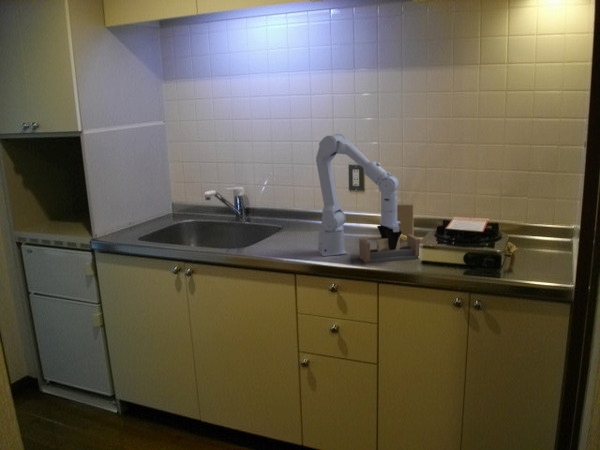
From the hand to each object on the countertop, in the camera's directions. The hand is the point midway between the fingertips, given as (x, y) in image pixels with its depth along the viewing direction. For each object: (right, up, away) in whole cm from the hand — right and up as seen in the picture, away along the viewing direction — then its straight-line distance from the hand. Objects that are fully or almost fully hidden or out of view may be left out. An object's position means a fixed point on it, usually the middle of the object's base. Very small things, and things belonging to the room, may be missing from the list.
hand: (389, 247), depth 205 cm
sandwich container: (+11, +3, +31) cm, 33 cm away
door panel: (0, -3, +1) cm, 3 cm away
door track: (0, -4, +1) cm, 4 cm away
